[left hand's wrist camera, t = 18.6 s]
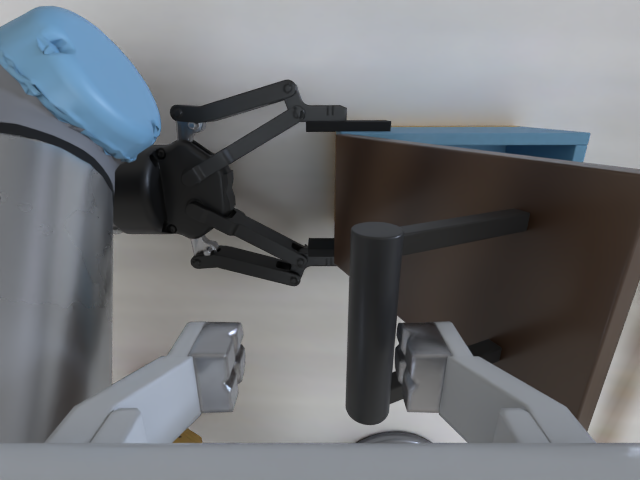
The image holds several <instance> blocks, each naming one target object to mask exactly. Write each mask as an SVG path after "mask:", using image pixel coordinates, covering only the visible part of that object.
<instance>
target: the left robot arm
mask: <svg viewBox="0 0 640 480" xmlns="http://www.w3.org/2000/svg"><path fill="white" fill-rule="evenodd" d="M242 338H243V327H242V324H241V323H240V322H189V323H187V325H186V326H185V328H184V329H183V331H182V333H181V334H180V336H179V337H178V339H177V340H176V342H175V344H174V345H173V347H172V348H171V350H170V352H169V353H168V355H167V356H161V357H159V358H158V359H156V360H154V361H152V362H151V363H149V364H147V365H145V366H144V367H142V368H140V369H138V370H137V371H135V372H133V373H131V374H130V375H128V376H126V377H124V378H123V379H121V380H119V381H118V382H116V383H114V384H112V385H111V386H109V387H107V388H105V389H104V390H102V391H100V392H98V393H97V394H95V395H93V396H91V397H90V398H88V399H86V400H84V401H83V402H81V403H79V404H78V405H76V406H74V407H73V408H72V410H71V411H70V412H69V413H68V414H67V416H66V417H65V418H64V419H63V420H62V422H61V423H60V424H59V425H58V426H57V428H56V429H55V430H54V431H53V432H52V434H51V435H50V436H49V437H48V438H47V440H46V441H45V442H44V443H0V480H640V443H596V442H595V441H594V440H593V438H592V437H591V436H590V435H589V434H588V432H587V431H586V430H585V429H584V427H583V426H582V425H581V424H580V423H579V421H578V420H577V419H576V418H575V417H574V415H573V414H572V413H571V412H570V411H569V409H568V408H567V407H566V406H564V405H562V404H560V403H559V402H557V401H555V400H554V399H552V398H550V397H548V396H547V395H545V394H543V393H541V392H540V391H538V390H536V389H534V388H533V387H531V386H529V385H528V384H526V383H524V382H522V381H521V380H519V379H517V378H515V377H514V376H512V375H510V374H508V373H507V372H505V371H503V370H502V369H500V368H498V367H496V366H495V365H493V364H491V363H489V362H488V361H486V360H484V359H482V358H481V357H479V356H473V355H472V353H471V352H470V350H469V349H468V347H467V345H466V344H465V342H464V341H463V339H462V338H461V336H460V334H459V333H458V331H457V330H456V328H455V327H454V325H453V323H451V322H424V323H398V327H397V338H398V341H399V345H398V346H397V347H396V348H395V369H396V375H397V378H398V381H399V382H400V383H401V384H402V396H403V399H404V403H405V406H406V409H407V412H429V413H439V415H440V416H441V417H442V418H443V419H444V420H445V421H446V422H447V423H448V424H449V425H450V426H451V427H452V428H453V429H454V430H455V431H456V432H457V433H458V434H459V435H460V436H461V437H462V438H463V439H464V440H465V441H466V442H467V443H173V442H174V441H175V440H176V439H177V438H178V437H179V436H180V435H181V434H182V433H183V432H184V431H185V430H186V429H187V428H188V427H189V426H190V425H191V424H192V423H193V422H194V421H195V420H196V419H197V418H198V417H199V416H200V415H201V413H211V412H233V409H234V406H235V403H236V399H237V396H238V384H239V383H240V382H241V381H242V378H243V375H244V368H245V348H244V347H243V346H242V345H241V341H242Z"/></svg>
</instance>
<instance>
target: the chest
mask: <svg viewBox="0 0 640 480" xmlns="http://www.w3.org/2000/svg"><path fill="white" fill-rule="evenodd" d="M336 134H353V135H361V136H369V137H377V138H386V139H394V140H402V141H410V142H419V143H427V144H435V145H443V146H452V147H460V148H468V149H476V150H484V151H493V152H501V153H509V154H517V155H526V156H534V157H542V158H550V159H559V160H567V161H575V162H583V161H584V157H585V153H586V149H587V145H588V141H589V137H590V133H586V132H575V131H564V130H552V129H541V128H530V127H520V126H391V131H349V132H336V133H335V152H336ZM334 221H335V217H334Z"/></svg>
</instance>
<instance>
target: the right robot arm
mask: <svg viewBox="0 0 640 480" xmlns="http://www.w3.org/2000/svg"><path fill="white" fill-rule="evenodd" d="M283 100H284V101H285V103H286V106H287V109H288V110H287V111H285V112H283V113H282V114H280V115H279V116H277V117H275V118H274V119H272V120H270V121H269V122H267V123H265V124H264V125H262V126H261V127H259V128H257V129H256V130H254V131H252V132H251V133H249V134H247V135H246V136H244V137H243V138H241V139H239V140H238V141H236V142H234V143H233V144H231V145H230V146H228V147H226V148H224V149H223V150H221V151H219V152H218V153H216V154H213V153H212V152H210V151H209V150H207V149H206V148H204V147H203V146H202V145H200V144H199V143H197V142H196V141H194V140H193V138H194V135H195V134H196V133H198V132H202V131H204V129H205V127H206V122H212V121H217V120H221V119H224V118H228V117H231V116H234V115H238V114H241V113H244V112H247V111H251V110H254V109H257V108H261V107H264V106H267V105H270V104H274V103H277V102H280V101H283ZM170 115H171V117H172V118H173V119H174V120H175V121H176V125H177V140H176V141H175V142H173V143H172V144H169V145H153V143H154V142H155V141H156V138H157V137H158V136H159V135H160V131H161V119H160V114H159V110H158V108H157V105H156V102H155V100H154V98H153V96H152V94H151V92H150V90H149V88H148V86H147V84H146V83H145V81H144V80H143V78H142V77H141V75H140V74H139V72H138V71H137V69H136V68H135V67H134V65H133V64H132V63H131V62H130V60H129V59H128V58H127V57H126V56H125V55H124V53H123V52H122V51H121V50H120V49H119V48H118V47H117V46H116V45H115V44H114V43H113V42H112V41H111V40H110V39H109V38H108V37H107V36H106V35H105V34H104V33H103V32H102V31H101V30H99V29H98V28H97V27H96V26H94V25H93V24H92V23H90V22H89V21H87V20H86V19H85V18H83V17H81V16H79V15H77V14H76V13H74V12H72V11H69V10H67V9H63V8H60V7H55V6H42V7H37V8H34V9H32V10H30V11H29V12H27V13H25V14H23V15H22V16H20V17H18V18H16V19H14V20H12V21H10V22H9V23H7V24H5V25H3V26H1V27H0V443H44V442H45V441H46V440H47V438H48V437H49V436H50V435H51V434H52V432H53V431H54V430H55V429H56V428H57V426H58V425H59V424H60V423H61V422H62V420H63V419H64V418H65V417H66V416H67V414H68V413H69V412H70V411H71V410H72V408H73V407H74V406H76V405H78V404H79V403H81V402H83V401H84V400H86V399H88V398H90V397H91V396H93V395H95V394H97V393H98V392H100V391H102V390H104V389H105V388H107V387H109V386H111V385H112V307H113V234H120V233H123V232H124V233H127V234H181V235H183V236H186V237H188V238H190V239H191V242H192V247H193V251H194V257H193V258H192V259H191V265H192V266H193V267H194V268H197V269H202V268H216V267H218V268H222V269H226V270H230V271H234V272H238V273H242V274H246V275H250V276H254V277H258V278H262V279H266V280H270V281H274V282H278V283H282V284H286V285H290V286H297V285H298V284H299V283H300V279H301V277H302V274H303V271H304V270H305V268H307V267H309V266H337V265H335V264H334V238H309V243H308V246H307V245H306V244H305V246H303V245H301V244H299V243H297V242H295V241H293V240H291V239H289V238H288V237H286V236H284V235H282V234H280V233H278V232H276V231H274V230H272V229H270V228H268V227H266V226H264V225H262V224H261V223H259V222H257V221H255V220H253V219H251V218H249V217H247V216H246V215H245V214H244V213H243V212H241V211H240V210H238V209H236V208H234V206H235V205H236V204H235V195H234V193H233V190H232V184H233V170H230V167H229V166H228V165H229V164H231V163H232V162H234V161H236V160H237V159H239V158H241V157H242V156H244V155H246V154H247V153H249V152H251V151H252V150H254V149H256V148H257V147H259V146H261V145H262V144H264V143H266V142H267V141H269V140H271V139H272V138H274V137H276V136H277V135H279V134H281V133H282V132H284V131H286V130H287V129H289V128H290V127H292V126H294V125H295V124H297V123H299V122H306V132H349V131H391V121H386V120H346V117H347V108H345V107H343V106H341V105H306V104H305V103H304V102H303V101H302V99H301V96H300V94H299V91H298V88H297V85H296V84H295V83H294V82H293V81H291V80H284V81H280V82H277V83H274V84H271V85H268V86H264V87H261V88H258V89H255V90H251V91H248V92H245V93H242V94H239V95H235V96H232V97H229V98H226V99H222V100H219V101H216V102H213V103H210V104H206V105H203V106H193V105H174V106H172V108H171V109H170ZM213 228H215V229H217V230H219V231H221V232H223V233H225V234H227V235H230V236H236V237H238V238H240V239H242V240H244V241H246V242H248V243H250V244H252V245H254V246H256V247H258V248H260V249H262V250H264V251H266V252H268V253H270V254H272V255H274V256H276V257H278V258H280V259H277V258H273V257H270V256H266V255H262V254H258V253H254V252H250V251H246V250H242V249H238V248H234V247H230V246H222V245H218V243H217V242H216V241H212V240H209V239H207V238H206V236H205V234H206V233H208V232H209V231H210V230H212V229H213ZM281 259H282V260H281ZM358 443H431V442H429V441H428V440H426V439H424V438H422V437H420V436H417V435H414V434H409V433H403V432H388V433H381V434H377V435H373V436H370V437H368V438H365V439H363V440H361V441H360V442H358Z"/></svg>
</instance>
